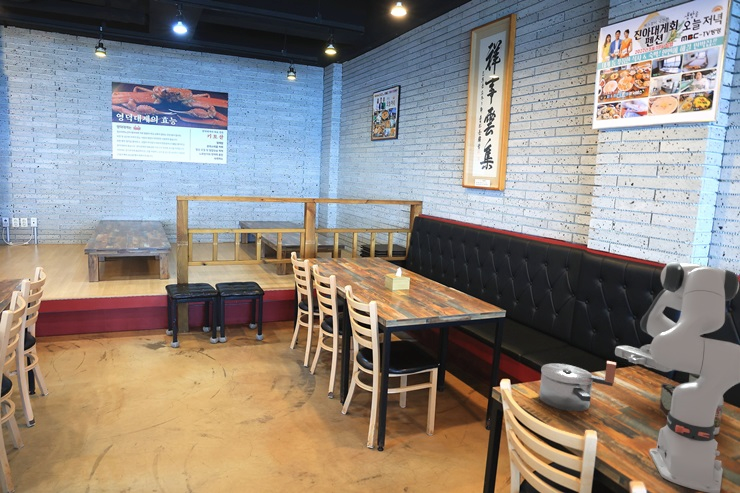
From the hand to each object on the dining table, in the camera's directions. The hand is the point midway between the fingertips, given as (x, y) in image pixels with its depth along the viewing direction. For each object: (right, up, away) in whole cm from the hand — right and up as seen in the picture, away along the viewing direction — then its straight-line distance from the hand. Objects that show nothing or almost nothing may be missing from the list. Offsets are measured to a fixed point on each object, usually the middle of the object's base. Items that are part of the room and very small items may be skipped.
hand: (632, 360), depth 186 cm
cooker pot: (-26, -16, -2) cm, 30 cm away
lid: (-22, -6, -2) cm, 23 cm away
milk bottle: (+17, -21, -16) cm, 31 cm away
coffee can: (+27, -19, +1) cm, 33 cm away
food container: (+12, -19, -6) cm, 23 cm away
